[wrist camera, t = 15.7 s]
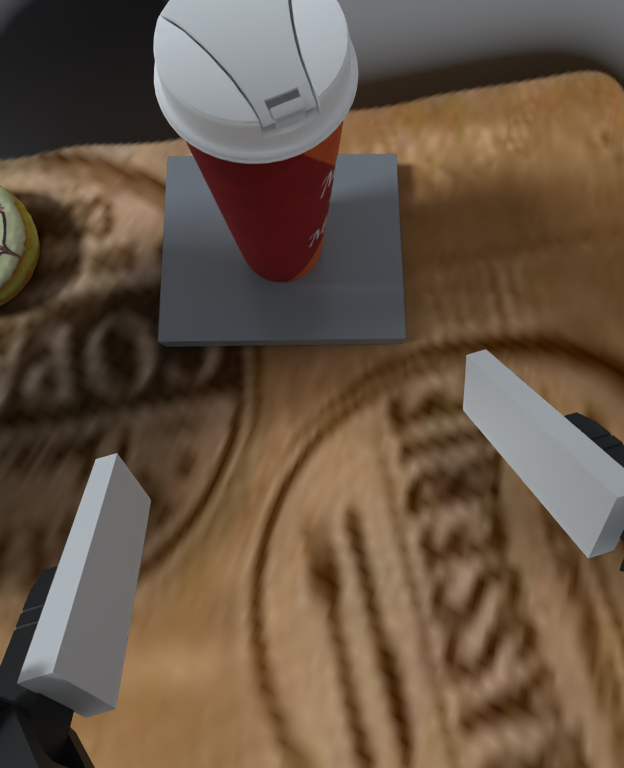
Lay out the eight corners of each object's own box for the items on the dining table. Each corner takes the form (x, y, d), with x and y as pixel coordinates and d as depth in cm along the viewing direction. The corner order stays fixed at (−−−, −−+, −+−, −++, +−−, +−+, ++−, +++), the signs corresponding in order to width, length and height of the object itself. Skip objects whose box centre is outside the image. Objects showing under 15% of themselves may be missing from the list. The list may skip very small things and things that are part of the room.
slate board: (165, 346, 29) (157, 341, 28) (174, 170, 32) (167, 156, 30) (401, 343, 29) (406, 338, 28) (392, 167, 32) (396, 153, 30)
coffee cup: (354, 270, 29) (401, 81, 14) (254, 315, 28) (189, 168, 13) (307, 178, 30) (303, -86, 15) (209, 219, 29) (105, -12, 14)
